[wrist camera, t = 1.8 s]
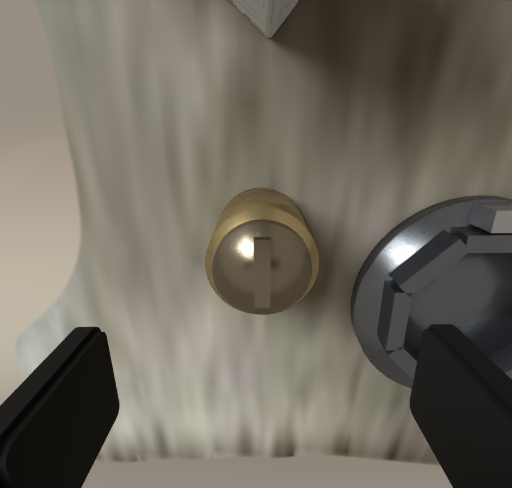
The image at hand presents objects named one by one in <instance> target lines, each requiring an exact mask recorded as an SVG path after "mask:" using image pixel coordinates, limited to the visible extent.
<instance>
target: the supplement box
mask: <svg viewBox="0 0 512 488" xmlns="http://www.w3.org/2000/svg"><path fill="white" fill-rule="evenodd" d="M229 1H230V2H231V3H232V4H233V5H234V6H235V7H236V8H237V9H238V10H239V11H240V12H241V13H242V14H243V15H244V16H245V17H247V18H248V19H249V20H250V21H251V22H252V23H253V24H254V25H255V26H256V27H257V28H258V29H259V30H260V31H261V32H262V33H263V34H264V35H265V36H266V37H268V38H271V37H272V36H273V35H274V33H275V32H276V31H277V30H278V28H279V27H280V26H281V24H282V23H283V22H284V20H285V19H286V18H287V16H288V15H289V14H290V12H291V11H292V10H293V8H294V7H295V5H296V4H297V3H298V1H299V0H229Z"/></svg>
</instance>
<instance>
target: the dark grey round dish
mask: <svg viewBox="0 0 512 488" xmlns="http://www.w3.org/2000/svg"><path fill="white" fill-rule="evenodd" d="M351 318H352V324H353V328H354V331H355V334H356V336H357V339H358V341H359V343H360V345H361V347H362V349H363V351H364V353H365V355H366V356H367V358H368V359H369V360H370V362H371V363H372V364H373V365H374V366H375V367H376V368H377V369H378V370H379V371H380V372H382V373H383V374H384V375H385V376H387V377H388V378H390V379H392V380H394V381H395V382H397V383H400V384H402V385H405V386H407V387H410V388H412V387H413V381H414V376H415V370H416V365H417V359H418V353H419V348H420V342H421V337H422V333H423V331H424V330H425V329H428V327H429V326H430V325H431V324H453V325H454V326H456V327H457V328H458V329H459V330H460V331H461V332H462V333H463V334H464V335H465V336H466V337H467V338H468V339H469V340H470V341H472V342H473V343H474V344H475V345H476V346H477V347H478V348H479V349H480V350H481V351H482V352H483V353H484V354H485V355H486V356H487V357H488V358H489V359H491V360H492V361H493V362H494V363H495V364H496V365H497V366H498V367H499V368H500V369H501V370H502V371H503V372H504V373H505V374H506V375H507V376H508V377H510V378H511V379H512V199H507V198H502V197H497V196H468V197H461V198H456V199H451V200H447V201H444V202H441V203H438V204H435V205H432V206H430V207H428V208H426V209H423V210H421V211H419V212H417V213H416V214H414V215H412V216H411V217H409V218H407V219H405V220H404V221H403V222H401V223H400V224H399V225H397V226H396V227H395V228H393V229H392V230H391V231H390V232H389V233H388V234H387V235H386V236H385V237H384V238H382V239H381V240H380V242H379V243H378V244H377V245H376V246H375V248H374V249H373V250H372V251H371V253H370V254H369V256H368V257H367V259H366V260H365V262H364V263H363V265H362V267H361V269H360V271H359V274H358V276H357V278H356V281H355V285H354V288H353V293H352V298H351Z"/></svg>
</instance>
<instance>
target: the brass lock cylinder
mask: <svg viewBox="0 0 512 488" xmlns="http://www.w3.org/2000/svg"><path fill="white" fill-rule="evenodd" d="M205 267H206V274H207V277H208V280H209V282H210V284H211V286H212V288H213V290H214V291H215V292H216V294H217V295H218V296H219V297H220V298H221V299H222V300H223V301H224V302H226V303H227V304H228V305H230V306H232V307H233V308H235V309H238V310H240V311H243V312H246V313H251V314H261V315H264V314H273V313H278V312H281V311H284V310H286V309H289V308H291V307H292V306H294V305H296V304H297V303H298V302H300V301H301V300H302V299H303V298H304V297H305V296H306V295H307V294H308V292H309V291H310V290H311V288H312V286H313V285H314V283H315V280H316V278H317V274H318V269H319V255H318V250H317V247H316V244H315V242H314V240H313V238H312V236H311V234H310V232H309V230H308V228H307V226H306V224H305V222H304V220H303V218H302V216H301V214H300V212H299V210H298V208H297V206H296V205H295V204H294V202H293V201H292V200H291V199H290V198H288V197H287V196H286V195H284V194H283V193H281V192H279V191H276V190H273V189H268V188H254V189H249V190H246V191H244V192H242V193H240V194H238V195H237V196H235V197H234V198H233V199H232V200H231V201H230V202H229V203H228V204H227V205H226V207H225V208H224V210H223V212H222V214H221V217H220V219H219V222H218V224H217V226H216V229H215V231H214V233H213V236H212V238H211V240H210V243H209V245H208V248H207V252H206V258H205Z"/></svg>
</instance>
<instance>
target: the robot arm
mask: <svg viewBox="0 0 512 488" xmlns="http://www.w3.org/2000/svg"><path fill="white" fill-rule="evenodd" d="M410 409H411V412H412V415H413V417H414V419H415V420H416V422H417V424H418V426H419V428H420V429H421V431H422V433H423V435H424V436H425V438H426V440H427V442H428V444H429V445H430V447H431V449H432V451H433V453H434V454H435V456H436V458H437V460H438V461H439V463H440V465H441V467H442V469H443V470H444V472H445V474H446V476H447V477H448V479H449V481H450V483H451V484H452V486H453V488H512V379H511V378H510V377H508V376H507V375H506V374H505V373H504V372H503V371H502V370H501V369H500V368H499V367H498V366H497V365H496V364H495V363H494V362H493V361H492V360H491V359H489V358H488V357H487V356H486V355H485V354H484V353H483V352H482V351H481V350H480V349H479V348H478V347H477V346H476V345H475V344H474V343H473V342H472V341H470V340H469V339H468V338H467V337H466V336H465V335H464V334H463V333H462V332H461V331H460V330H459V329H458V328H457V327H456V326H454V325H453V324H431V325H430V326H429V327H428V329H425V330H424V331H423V333H422V337H421V342H420V348H419V353H418V359H417V365H416V370H415V376H414V381H413V387H412V392H411V398H410ZM118 412H119V398H118V393H117V388H116V383H115V378H114V372H113V367H112V362H111V357H110V351H109V346H108V341H107V336H106V334H105V332H101V330H100V329H99V328H98V327H77V328H75V329H74V330H73V331H72V332H71V333H70V334H69V335H68V336H67V337H66V338H65V339H64V340H63V341H62V342H61V343H60V344H59V345H58V346H57V347H56V349H55V350H54V351H53V352H52V353H51V354H50V355H49V356H48V357H47V358H46V359H45V360H44V361H43V362H42V363H41V364H40V365H39V366H38V367H37V368H36V369H35V370H34V371H33V372H32V373H31V374H30V375H29V377H28V378H27V379H26V380H25V381H24V382H23V383H22V384H21V385H20V386H19V387H18V388H17V389H16V390H15V391H14V392H13V393H12V394H11V395H10V396H9V397H8V398H7V399H6V400H5V401H4V402H3V404H2V405H1V406H0V488H81V487H82V485H83V483H84V481H85V479H86V477H87V475H88V473H89V471H90V469H91V467H92V465H93V463H94V461H95V459H96V457H97V455H98V454H99V452H100V450H101V448H102V446H103V444H104V442H105V440H106V438H107V436H108V434H109V432H110V430H111V428H112V426H113V424H114V422H115V420H116V418H117V416H118Z"/></svg>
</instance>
